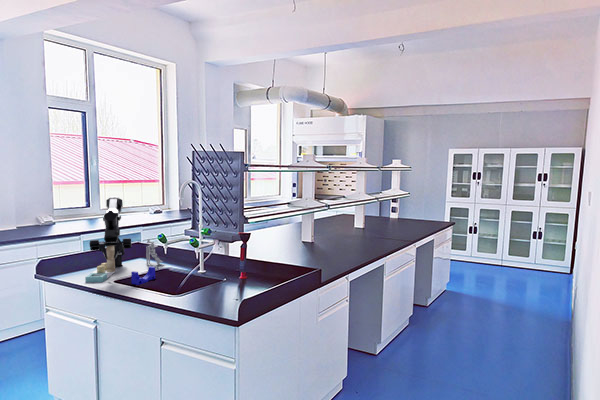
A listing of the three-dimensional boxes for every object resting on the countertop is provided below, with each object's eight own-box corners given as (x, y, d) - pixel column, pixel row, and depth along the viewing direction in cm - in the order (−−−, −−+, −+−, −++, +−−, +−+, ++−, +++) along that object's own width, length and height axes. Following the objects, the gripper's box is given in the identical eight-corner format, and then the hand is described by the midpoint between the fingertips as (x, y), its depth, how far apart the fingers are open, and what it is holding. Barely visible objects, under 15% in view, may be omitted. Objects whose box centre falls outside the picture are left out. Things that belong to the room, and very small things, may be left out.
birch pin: (114, 269, 198) (113, 245, 197) (115, 271, 195) (115, 246, 194) (106, 270, 196) (105, 246, 195) (108, 272, 193) (107, 247, 192)
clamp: (161, 266, 227) (161, 240, 226) (145, 265, 227) (144, 240, 226) (164, 264, 231) (164, 238, 230) (148, 263, 232) (147, 238, 230)
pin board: (99, 272, 212) (98, 262, 212) (114, 272, 213) (114, 262, 213) (85, 282, 195) (85, 271, 195) (102, 281, 196) (102, 271, 196)
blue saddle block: (138, 285, 192) (137, 273, 192) (131, 283, 195) (131, 271, 194) (157, 279, 203) (157, 267, 202) (151, 277, 205) (150, 266, 205)
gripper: (89, 224, 194) (87, 251, 184) (130, 222, 200) (130, 248, 191) (91, 237, 202) (89, 263, 192) (131, 235, 208) (131, 260, 199)
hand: (110, 258), depth 194 cm, fingers closed on birch pin, 4 cm apart
